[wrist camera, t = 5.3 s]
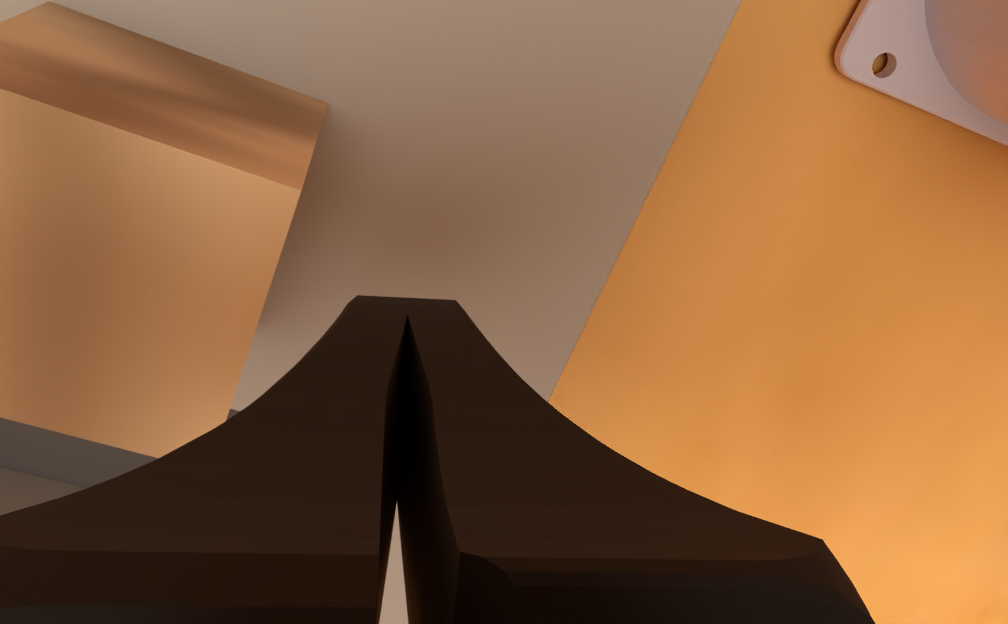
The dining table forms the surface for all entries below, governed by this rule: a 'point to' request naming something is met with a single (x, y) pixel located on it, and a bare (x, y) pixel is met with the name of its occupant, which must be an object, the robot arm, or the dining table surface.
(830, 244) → the dining table surface
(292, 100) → the block
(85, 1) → the trap board
